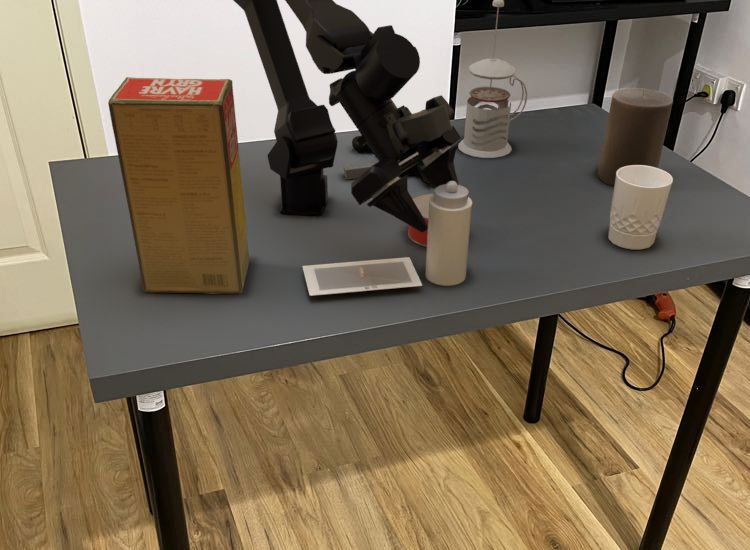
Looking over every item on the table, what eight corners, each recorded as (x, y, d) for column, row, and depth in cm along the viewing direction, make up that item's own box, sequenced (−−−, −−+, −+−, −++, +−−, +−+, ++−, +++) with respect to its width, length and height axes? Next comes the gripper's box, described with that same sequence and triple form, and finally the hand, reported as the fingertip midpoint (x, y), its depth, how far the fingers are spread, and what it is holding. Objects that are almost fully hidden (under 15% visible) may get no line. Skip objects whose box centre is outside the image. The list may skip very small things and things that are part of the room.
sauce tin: (406, 247, 120) (407, 217, 117) (409, 220, 127) (410, 192, 124) (465, 249, 120) (467, 220, 117) (464, 223, 127) (467, 195, 124)
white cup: (627, 256, 120) (641, 191, 113) (592, 233, 125) (604, 170, 119) (668, 245, 123) (685, 181, 116) (633, 223, 128) (647, 161, 122)
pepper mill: (424, 284, 112) (429, 189, 104) (425, 264, 116) (430, 171, 108) (466, 287, 112) (474, 191, 103) (465, 266, 116) (473, 173, 108)
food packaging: (251, 259, 116) (234, 76, 101) (243, 294, 109) (223, 103, 93) (155, 258, 116) (123, 74, 100) (141, 293, 108) (103, 101, 93)
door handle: (352, 180, 132) (449, 166, 135) (329, 134, 147) (417, 123, 150) (353, 199, 134) (449, 185, 137) (331, 152, 149) (417, 141, 152)
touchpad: (302, 273, 114) (301, 259, 112) (409, 264, 116) (409, 250, 115) (310, 302, 108) (309, 288, 106) (422, 292, 110) (422, 278, 109)
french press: (451, 139, 154) (461, -9, 138) (510, 135, 156) (526, -11, 140) (467, 159, 146) (479, 6, 130) (529, 155, 148) (548, 4, 133)
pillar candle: (630, 194, 136) (650, 102, 127) (585, 174, 142) (601, 85, 133) (667, 180, 141) (688, 90, 132) (621, 161, 147) (639, 74, 138)
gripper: (371, 100, 95) (448, 215, 97) (453, 61, 107) (519, 163, 110) (318, 150, 103) (390, 255, 105) (400, 109, 115) (462, 203, 118)
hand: (443, 217), depth 109 cm, fingers open, 9 cm apart
